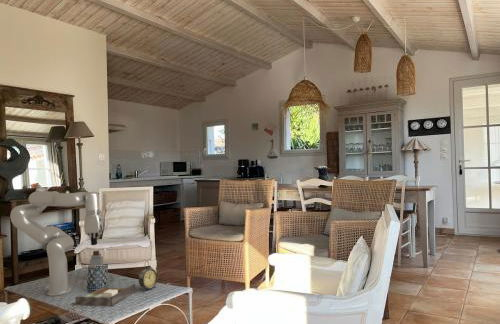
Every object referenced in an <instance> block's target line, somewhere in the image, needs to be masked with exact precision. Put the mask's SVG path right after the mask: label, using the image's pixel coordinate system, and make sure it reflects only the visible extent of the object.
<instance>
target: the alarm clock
mask: <svg viewBox="0 0 500 324" xmlns="http://www.w3.org/2000/svg"><path fill="white" fill-rule="evenodd" d="M146 263H148V265H144V267H145V269H143V270H142V271H140V273H139V275H138V284H139V286H140V287H141V288H142V289H143V293H145V291H146V289H152V288H156V284H157V283H158V282H157V281H158V273H157V271H156V270H155V269H154V268H148V267H149V265H150V263H149V262H148V261H145V262H144V264H146Z"/></svg>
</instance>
